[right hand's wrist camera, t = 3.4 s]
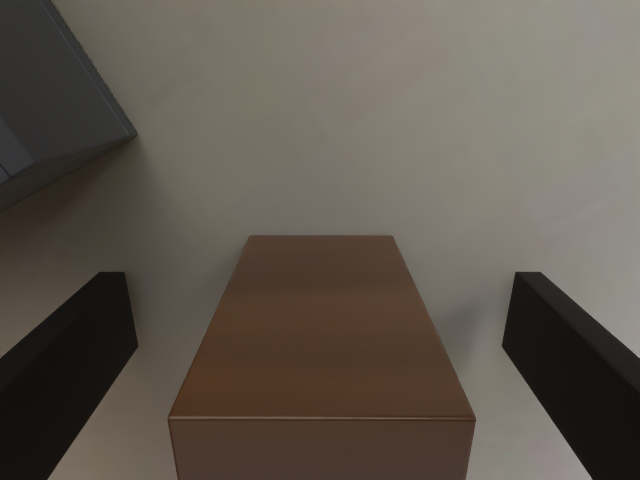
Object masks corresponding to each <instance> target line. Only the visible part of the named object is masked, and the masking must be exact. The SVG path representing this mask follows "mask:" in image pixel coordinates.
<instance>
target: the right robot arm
mask: <svg viewBox="0 0 640 480" xmlns="http://www.w3.org/2000/svg"><path fill="white" fill-rule="evenodd" d="M137 347H138V342H137V337H136V331H135V326H134V321H133V315H132V310H131V305H130V299H129V294H128V289H127V283H126V278H125V273H124V272H99V273H98V274H97V275H96V276H95V277H93V278H92V279H91V280H90V281H89V282H88V283H86V284H85V285H84V286H83V287H82V288H81V289H80V290H78V291H77V292H76V293H75V294H74V295H73V296H72V297H70V298H69V299H68V300H67V301H66V302H65V303H63V304H62V305H61V306H60V307H59V308H58V309H57V310H55V311H54V312H53V313H52V314H51V315H50V316H49V317H47V318H46V319H45V320H44V321H43V322H42V323H41V324H39V325H38V326H37V327H36V328H35V329H34V330H32V331H31V332H30V333H29V334H28V335H27V336H26V337H24V338H23V339H22V340H21V341H20V342H19V343H18V344H16V345H15V346H14V347H13V348H12V349H11V350H9V351H8V352H7V353H6V354H5V355H4V356H3V357H1V358H0V480H47V479H48V478H49V476H50V475H51V473H52V472H53V470H54V469H55V467H56V466H57V464H58V463H59V462H60V460H61V459H62V457H63V456H64V454H65V453H66V451H67V450H68V448H69V447H70V445H71V444H72V443H73V441H74V440H75V438H76V437H77V435H78V434H79V432H80V431H81V429H82V428H83V426H84V425H85V424H86V422H87V421H88V419H89V418H90V416H91V415H92V413H93V412H94V410H95V409H96V407H97V406H98V404H99V403H100V402H101V400H102V399H103V397H104V396H105V394H106V393H107V391H108V390H109V388H110V387H111V385H112V384H113V383H114V381H115V380H116V378H117V377H118V375H119V374H120V372H121V371H122V369H123V368H124V366H125V365H126V364H127V362H128V361H129V359H130V358H131V356H132V355H133V353H134V352H135V350H136V349H137ZM502 347H503V349H504V350H505V352H506V353H507V355H508V356H509V358H510V359H511V361H512V362H513V363H514V365H515V366H516V368H517V369H518V371H519V372H520V374H521V375H522V377H523V378H524V380H525V381H526V383H527V384H528V385H529V387H530V388H531V390H532V391H533V393H534V394H535V396H536V397H537V399H538V400H539V402H540V403H541V404H542V406H543V407H544V409H545V410H546V412H547V413H548V415H549V416H550V418H551V419H552V421H553V422H554V423H555V425H556V426H557V428H558V429H559V431H560V432H561V434H562V435H563V437H564V438H565V440H566V441H567V443H568V444H569V445H570V447H571V448H572V450H573V451H574V453H575V454H576V456H577V457H578V459H579V460H580V462H581V463H582V464H583V466H584V467H585V469H586V470H587V472H588V473H589V475H590V476H591V478H592V479H593V480H640V358H639V357H637V356H636V355H635V354H634V353H633V352H632V351H631V350H629V349H628V348H627V347H626V346H625V345H624V344H622V343H621V342H620V341H619V340H618V339H617V338H616V337H614V336H613V335H612V334H611V333H610V332H609V331H608V330H606V329H605V328H604V327H603V326H602V325H601V324H600V323H598V322H597V321H596V320H595V319H594V318H593V317H591V316H590V315H589V314H588V313H587V312H586V311H585V310H583V309H582V308H581V307H580V306H579V305H578V304H577V303H575V302H574V301H573V300H572V299H571V298H570V297H568V296H567V295H566V294H565V293H564V292H563V291H562V290H560V289H559V288H558V287H557V286H556V285H555V284H554V283H552V282H551V281H550V280H549V279H548V278H547V277H545V276H544V275H543V274H542V273H541V272H516V273H515V278H514V283H513V289H512V294H511V299H510V305H509V310H508V315H507V321H506V326H505V331H504V337H503V342H502Z"/></svg>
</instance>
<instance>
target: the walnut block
mask: <svg viewBox="0 0 640 480" xmlns="http://www.w3.org/2000/svg"><path fill="white" fill-rule="evenodd" d="M475 422H476V417H475V415H474V412H473V410H472V408H471V406H470V404H469V401H468V399H467V397H466V395H465V393H464V391H463V388H462V386H461V384H460V382H459V380H458V377H457V375H456V373H455V371H454V369H453V367H452V364H451V362H450V360H449V358H448V356H447V353H446V351H445V349H444V347H443V345H442V343H441V340H440V338H439V336H438V334H437V332H436V329H435V327H434V325H433V323H432V321H431V319H430V316H429V314H428V312H427V310H426V308H425V305H424V303H423V301H422V299H421V297H420V295H419V292H418V290H417V288H416V286H415V284H414V281H413V279H412V277H411V275H410V273H409V270H408V268H407V266H406V264H405V262H404V260H403V257H402V255H401V253H400V251H399V249H398V246H397V244H396V242H395V240H394V238H393V236H250V237H249V239H248V241H247V243H246V245H245V248H244V250H243V252H242V254H241V256H240V259H239V261H238V263H237V265H236V268H235V270H234V272H233V274H232V276H231V279H230V281H229V283H228V285H227V287H226V290H225V292H224V294H223V296H222V298H221V301H220V303H219V305H218V307H217V309H216V312H215V314H214V316H213V318H212V320H211V323H210V325H209V327H208V329H207V331H206V334H205V336H204V338H203V340H202V343H201V345H200V347H199V349H198V351H197V354H196V356H195V358H194V360H193V362H192V365H191V367H190V369H189V371H188V373H187V376H186V378H185V380H184V382H183V384H182V387H181V389H180V391H179V393H178V395H177V398H176V400H175V402H174V404H173V406H172V409H171V411H170V413H169V415H168V424H169V430H170V436H171V442H172V448H173V453H174V459H175V465H176V471H177V477H178V480H465V479H466V473H467V468H468V462H469V456H470V451H471V445H472V439H473V434H474V428H475Z"/></svg>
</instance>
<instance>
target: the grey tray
mask: <svg viewBox="0 0 640 480" xmlns="http://www.w3.org/2000/svg"><path fill="white" fill-rule="evenodd" d="M136 135H137V132H136V130H135V129H134V127H133V126H132V124H131V123H130V121H129V120H128V118H127V117H126V115H125V114H124V112H123V110H122V109H121V107H120V106H119V104H118V103H117V101H116V100H115V98H114V97H113V95H112V94H111V92H110V91H109V89H108V88H107V86H106V84H105V83H104V81H103V80H102V78H101V77H100V75H99V74H98V72H97V71H96V69H95V68H94V66H93V65H92V63H91V61H90V60H89V58H88V57H87V55H86V54H85V52H84V51H83V49H82V48H81V46H80V45H79V43H78V42H77V40H76V38H75V37H74V35H73V34H72V32H71V31H70V29H69V28H68V26H67V25H66V23H65V22H64V20H63V19H62V17H61V15H60V14H59V12H58V11H57V9H56V8H55V6H54V5H53V3H52V2H51V0H0V213H1V212H2V211H4V210H6V209H8V208H9V207H11V206H13V205H15V204H16V203H18V202H20V201H22V200H23V199H25V198H27V197H29V196H30V195H32V194H34V193H36V192H37V191H39V190H41V189H43V188H44V187H46V186H48V185H50V184H52V183H53V182H55V181H57V180H59V179H60V178H62V177H64V176H66V175H67V174H69V173H71V172H73V171H74V170H76V169H78V168H80V167H81V166H83V165H85V164H87V163H88V162H90V161H92V160H94V159H96V158H97V157H99V156H101V155H103V154H104V153H106V152H108V151H110V150H111V149H113V148H115V147H117V146H118V145H120V144H122V143H124V142H125V141H127V140H129V139H131V138H132V137H134V136H136Z"/></svg>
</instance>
